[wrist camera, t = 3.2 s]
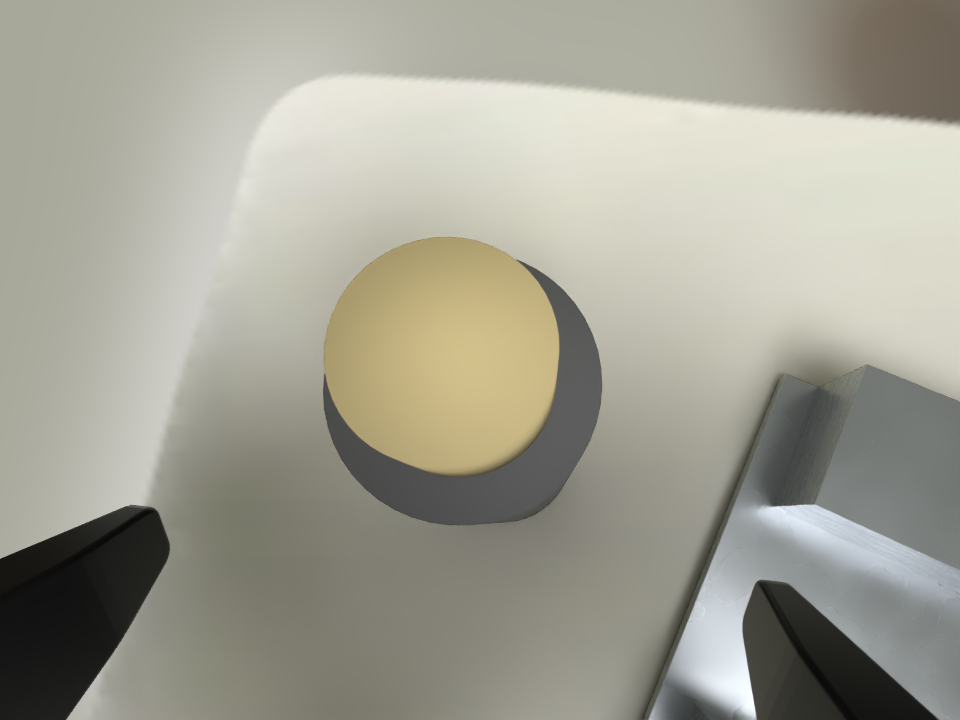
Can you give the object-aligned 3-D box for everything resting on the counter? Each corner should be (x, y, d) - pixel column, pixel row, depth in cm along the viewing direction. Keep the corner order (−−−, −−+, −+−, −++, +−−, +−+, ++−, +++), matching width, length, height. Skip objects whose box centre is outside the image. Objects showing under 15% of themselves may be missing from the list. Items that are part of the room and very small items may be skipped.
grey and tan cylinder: (535, 546, 20) (523, 594, 7) (412, 484, 20) (208, 428, 8) (592, 420, 20) (672, 264, 8) (472, 365, 21) (372, 144, 9)
